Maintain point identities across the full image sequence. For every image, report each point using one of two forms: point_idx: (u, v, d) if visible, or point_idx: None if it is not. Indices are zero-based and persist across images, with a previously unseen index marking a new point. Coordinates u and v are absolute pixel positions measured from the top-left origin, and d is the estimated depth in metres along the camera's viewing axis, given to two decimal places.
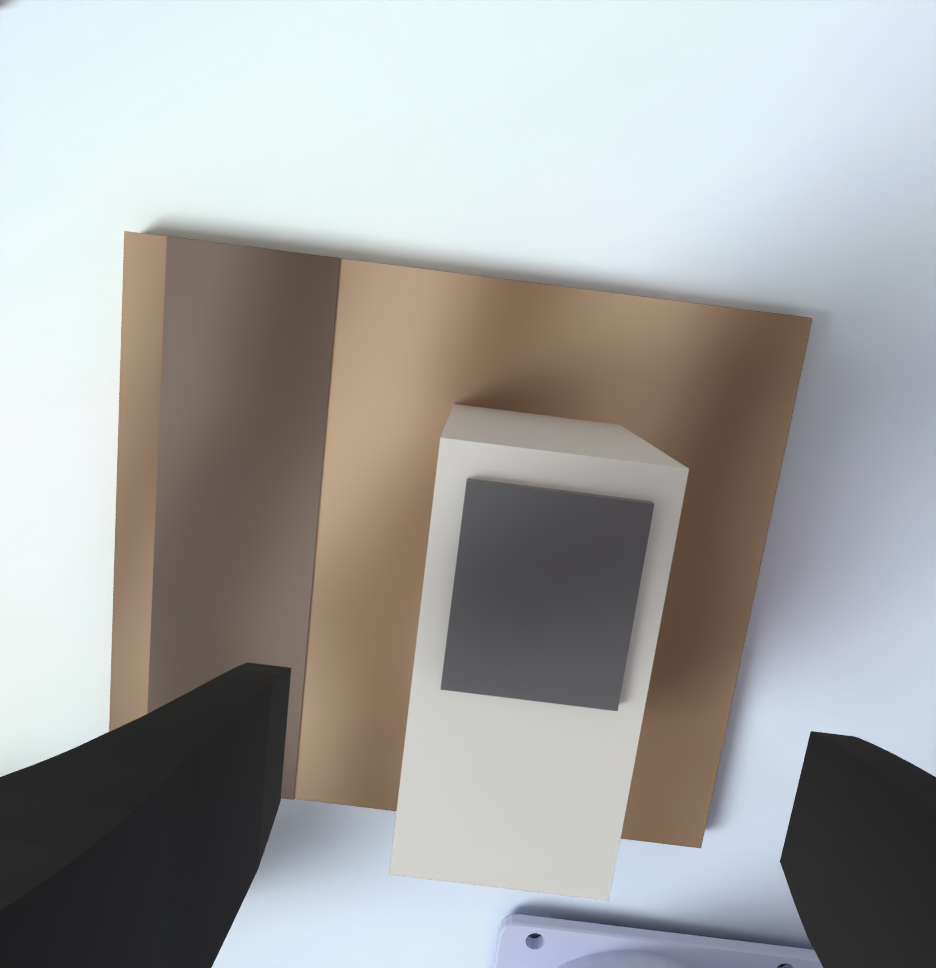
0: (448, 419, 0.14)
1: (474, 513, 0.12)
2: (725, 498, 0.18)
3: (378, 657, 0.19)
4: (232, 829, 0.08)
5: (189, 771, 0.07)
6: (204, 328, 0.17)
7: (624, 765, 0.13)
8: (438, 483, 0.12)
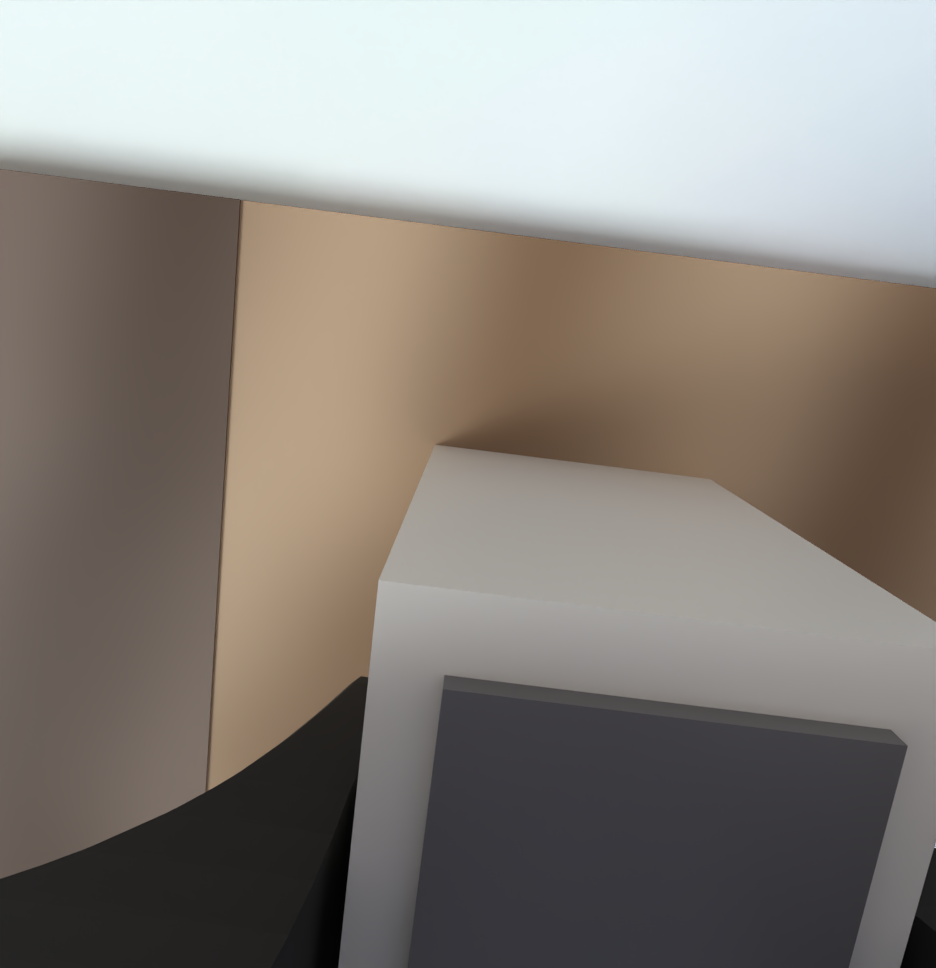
0: (416, 493, 0.07)
1: (461, 764, 0.05)
2: None
3: None
4: None
5: (355, 791, 0.07)
6: (16, 320, 0.10)
7: None
8: (375, 688, 0.05)
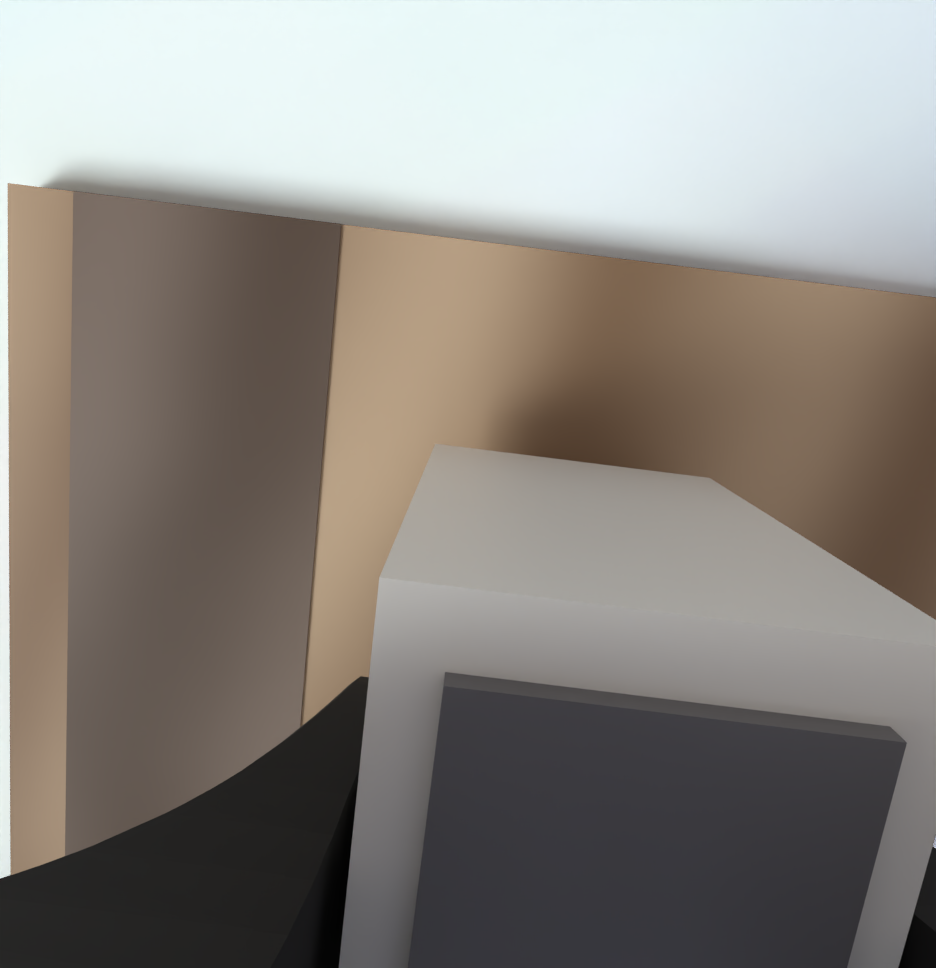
0: (416, 492, 0.07)
1: (461, 762, 0.05)
2: (920, 585, 0.12)
3: None
4: None
5: (355, 791, 0.07)
6: (134, 333, 0.11)
7: None
8: (376, 685, 0.05)
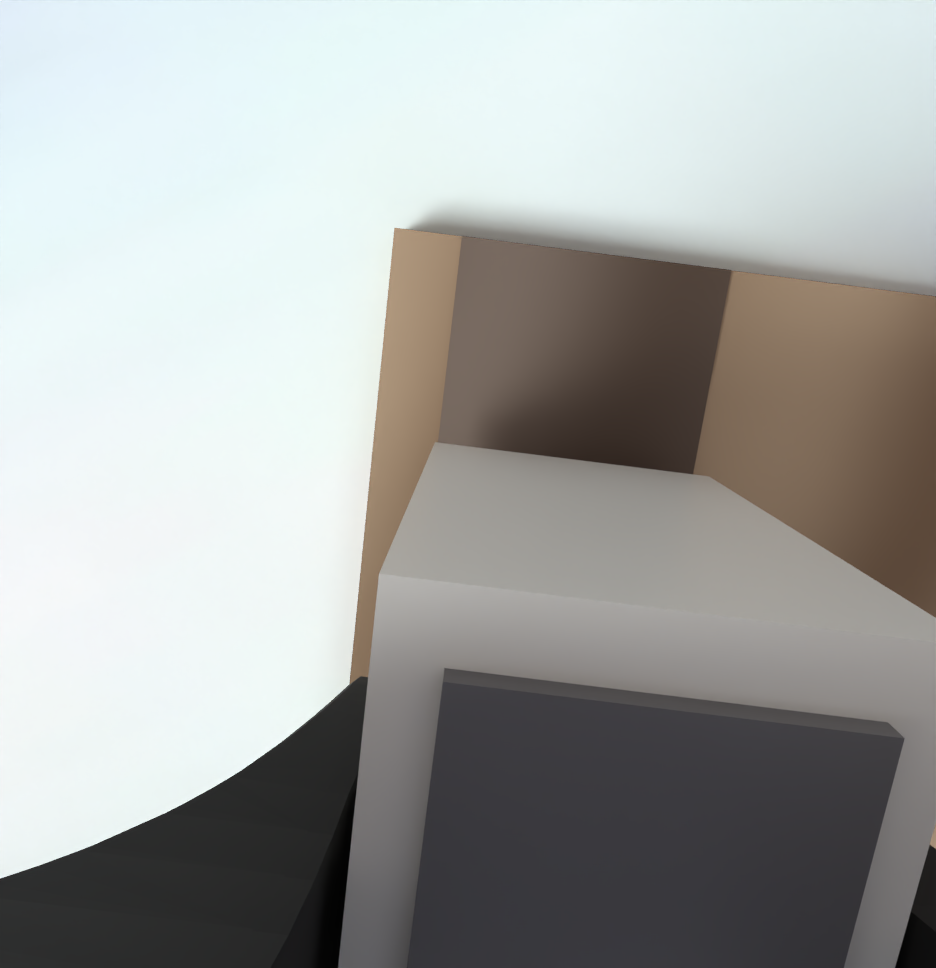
0: (416, 490, 0.07)
1: (461, 757, 0.05)
2: None
3: None
4: None
5: (355, 791, 0.07)
6: (507, 378, 0.11)
7: None
8: (376, 681, 0.05)
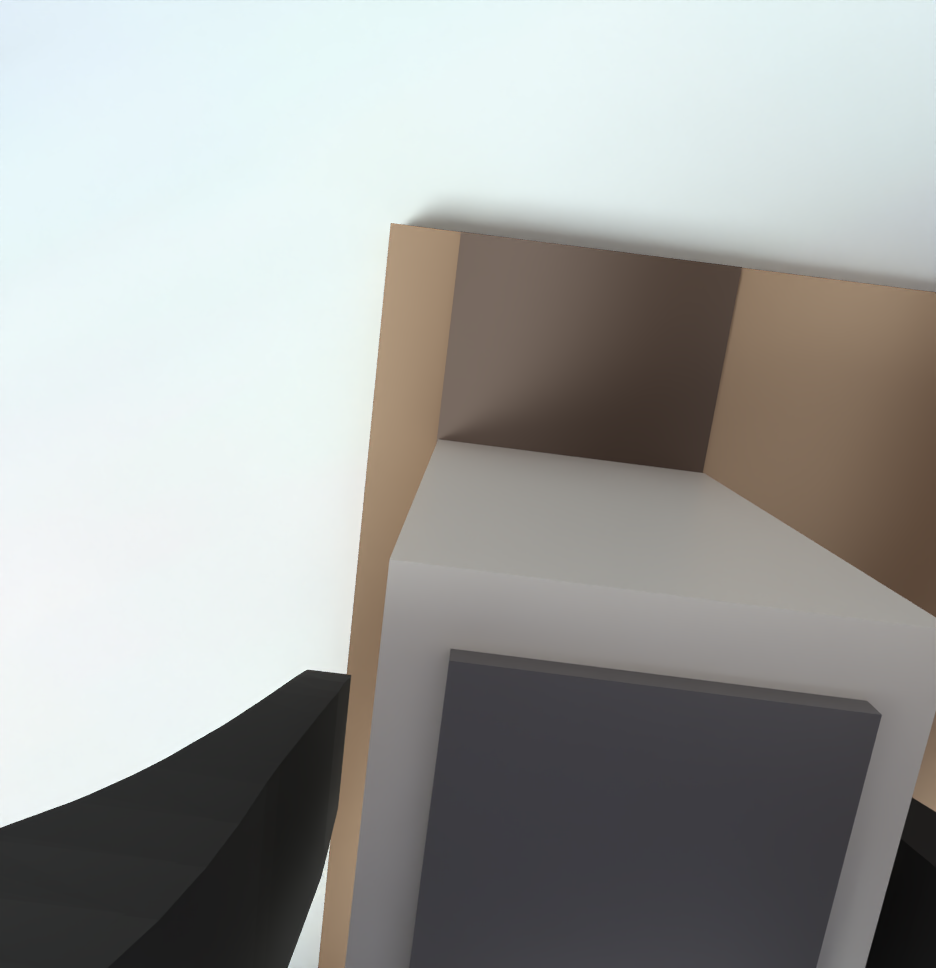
0: (421, 483, 0.08)
1: (466, 731, 0.05)
2: None
3: None
4: (305, 837, 0.08)
5: (277, 781, 0.07)
6: (508, 380, 0.11)
7: None
8: (386, 660, 0.05)
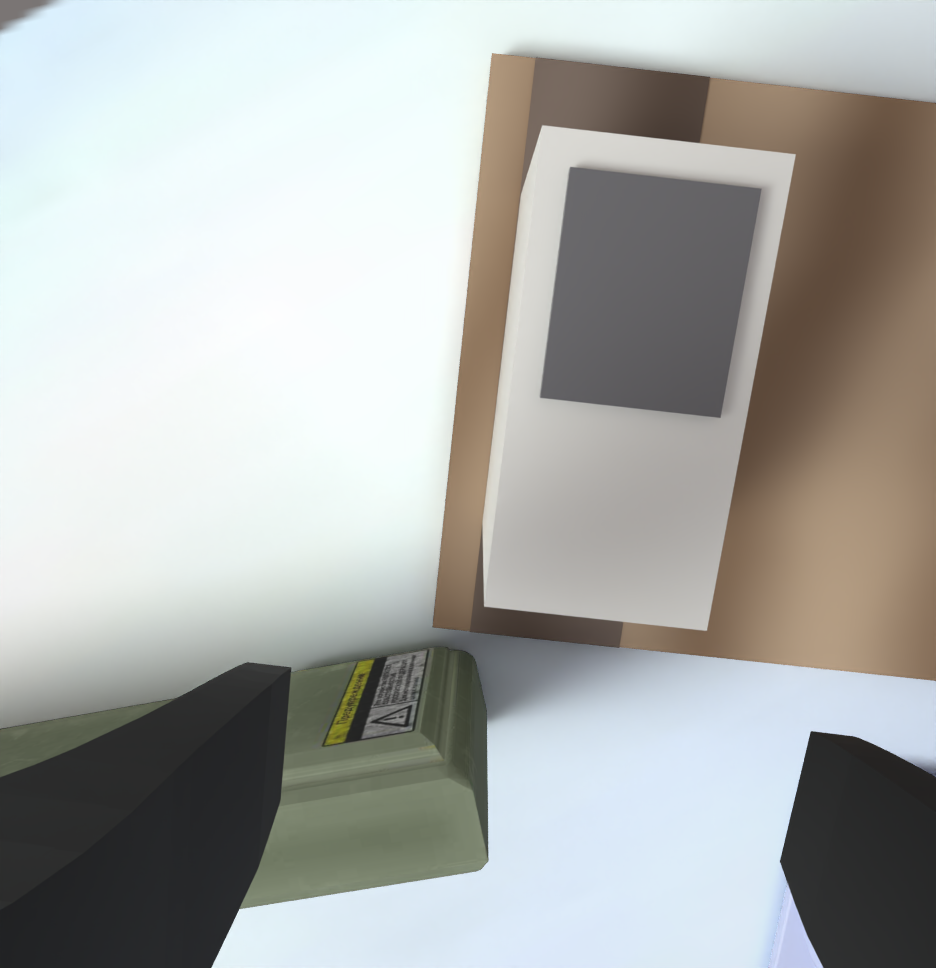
0: (531, 163, 0.14)
1: (577, 203, 0.12)
2: None
3: None
4: (232, 829, 0.08)
5: (189, 771, 0.07)
6: None
7: (724, 482, 0.13)
8: (540, 175, 0.12)
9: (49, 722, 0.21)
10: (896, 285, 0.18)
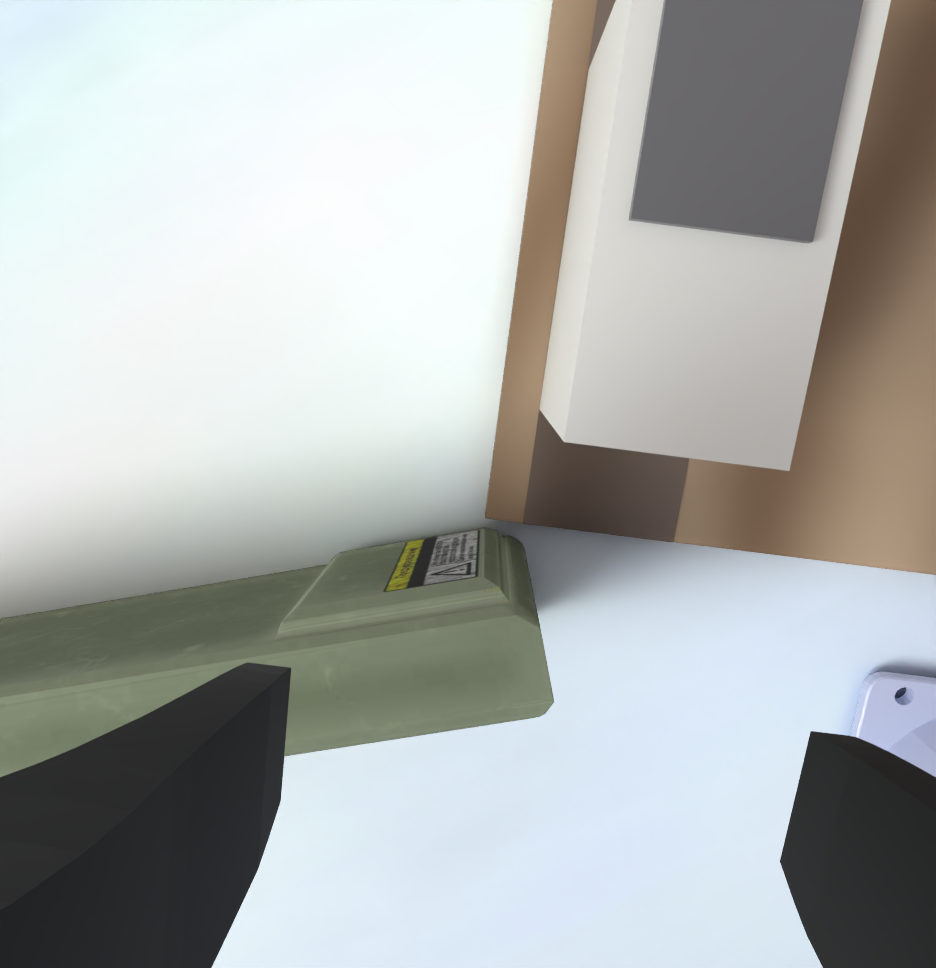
0: (613, 8, 0.14)
1: (675, 12, 0.11)
2: None
3: None
4: (232, 829, 0.08)
5: (190, 771, 0.07)
6: None
7: (812, 314, 0.12)
8: None
9: (92, 604, 0.21)
10: None
